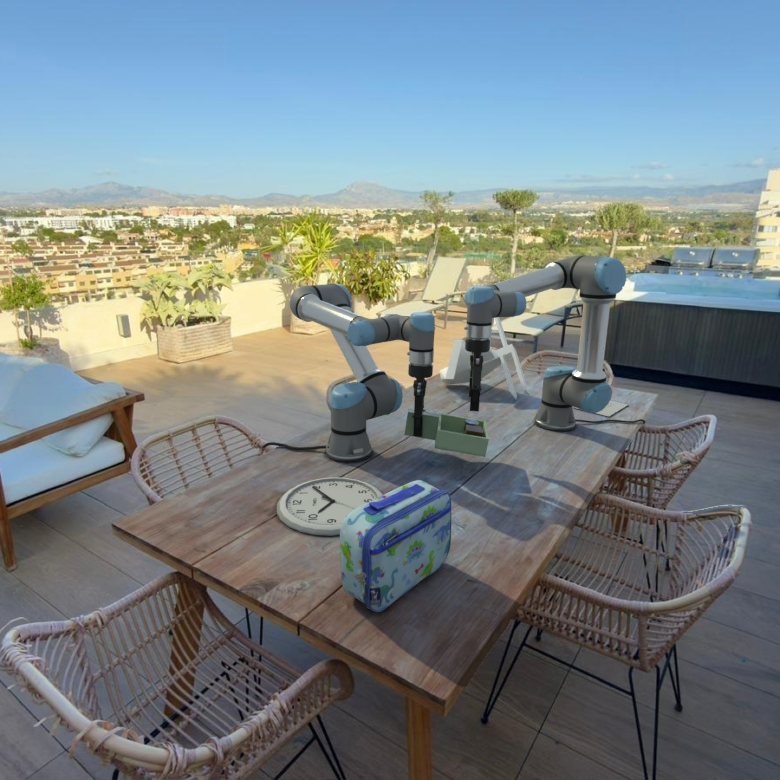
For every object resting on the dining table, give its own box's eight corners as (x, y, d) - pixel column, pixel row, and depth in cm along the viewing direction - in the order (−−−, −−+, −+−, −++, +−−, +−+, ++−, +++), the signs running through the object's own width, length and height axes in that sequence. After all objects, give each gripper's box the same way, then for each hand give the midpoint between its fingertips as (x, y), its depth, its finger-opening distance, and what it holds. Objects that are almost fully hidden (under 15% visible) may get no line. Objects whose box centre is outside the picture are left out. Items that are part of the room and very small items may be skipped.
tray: (482, 437, 174) (487, 415, 172) (485, 457, 159) (490, 433, 157) (406, 424, 176) (410, 402, 173) (402, 442, 161) (406, 418, 159)
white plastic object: (461, 429, 252) (437, 405, 227) (444, 352, 274) (420, 323, 250) (535, 404, 240) (518, 377, 215) (510, 326, 262) (492, 293, 237)
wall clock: (392, 527, 129) (268, 531, 127) (391, 533, 130) (269, 537, 127) (383, 473, 158) (282, 475, 155) (383, 478, 158) (282, 480, 156)
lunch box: (369, 626, 100) (370, 530, 93) (334, 598, 107) (332, 507, 101) (455, 567, 117) (460, 483, 111) (419, 547, 124) (423, 467, 118)
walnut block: (478, 444, 166) (481, 426, 164) (479, 450, 161) (483, 432, 160) (462, 441, 166) (465, 424, 164) (463, 448, 162) (466, 430, 160)
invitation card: (608, 416, 214) (573, 407, 224) (608, 416, 214) (573, 408, 224) (628, 404, 229) (594, 396, 238) (628, 405, 229) (594, 397, 238)
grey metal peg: (475, 437, 171) (478, 420, 170) (475, 442, 167) (479, 425, 165) (462, 434, 172) (465, 417, 170) (462, 439, 168) (465, 422, 166)
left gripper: (410, 356, 169) (408, 424, 176) (406, 369, 154) (404, 443, 161) (434, 357, 168) (430, 425, 175) (431, 370, 153) (428, 444, 160)
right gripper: (464, 329, 172) (461, 391, 178) (466, 346, 148) (462, 416, 155) (488, 330, 171) (483, 392, 177) (493, 347, 147) (487, 417, 154)
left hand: (418, 433), depth 168 cm, fingers closed on tray, 3 cm apart
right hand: (473, 403), depth 166 cm, fingers open, 13 cm apart
